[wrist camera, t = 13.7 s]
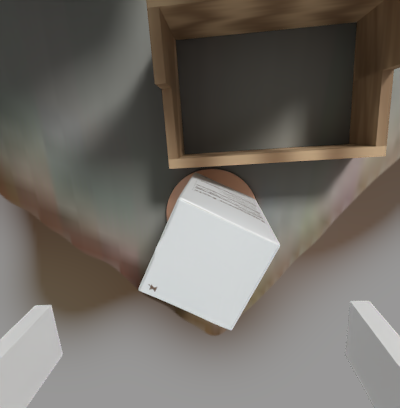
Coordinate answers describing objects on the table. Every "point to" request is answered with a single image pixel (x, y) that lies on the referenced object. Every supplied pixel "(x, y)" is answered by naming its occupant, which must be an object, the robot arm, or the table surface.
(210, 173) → the tan round disc
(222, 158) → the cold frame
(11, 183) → the table surface
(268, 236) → the supplement box
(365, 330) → the robot arm
